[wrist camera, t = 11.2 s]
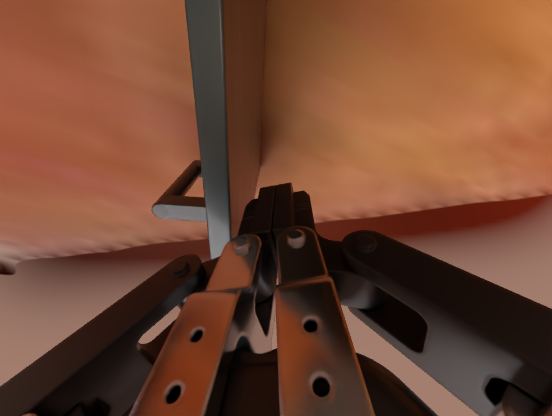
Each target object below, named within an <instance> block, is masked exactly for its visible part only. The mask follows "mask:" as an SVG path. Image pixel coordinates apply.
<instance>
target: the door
mask: <svg viewBox="0 0 552 416" xmlns="http://www.w3.org/2000/svg"><path fill="white" fill-rule="evenodd" d="M185 9H186V19H187V29H188V39H189V49H190V59H191V69H192V79H193V89H194V98H195V108H196V118H197V128H198V138H199V148H200V158H201V161H200V160H195V161H193V162H192V163H191V164H190V165H189V166H188V167H187V169H186V170H185V171H184V172H183V173H182V174H181V175H180V176H179V177H178V178H177V180H176V181H175V182H174V183H173V184H172V185H171V186H170V187H169V188H168V189H167V190H166V192H165V193H164V194H163V195H162V196H161V197H160V198H159V199H158V200H157V201H156V202H155V204H154V205H153V206H152V212H153V214H154V215H155V216H156V217H158V218H161V219H172V220H187V221H201V222H207V227H208V237H209V247H210V257H211V259H214V258H217V257H219V256H220V255H221V253H222V251H223V248H224V246H225V245H226V244H227V243H228V242H229V241H230V240H231V239H233V238H234V237H236V236H237V235H238V231H239V227H240V224H241V220H242V217H243V214H244V210H245V206H246V205H247V204H248V203H249V202H250V201H251V200H253V199H254V196H255V191H256V186H257V181H258V176H259V171H260V151H261V125H262V98H263V72H264V46H265V19H266V0H185ZM198 177H202V178H203V188H204V198H202V197H188V196H185V195H186V193H187V192H188V190H189V189H190V188H191V186H192V185H193V184H194V182H195V181H196V180H197V178H198Z"/></svg>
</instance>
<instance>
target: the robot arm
mask: <svg viewBox="0 0 552 416" xmlns="http://www.w3.org/2000/svg"><path fill="white" fill-rule="evenodd" d="M277 277H278V281H279V285H276V280H277ZM341 305H344V306H348V308H349V310H350V311H351V312H352V313H353V314H354V315H355V316H356V317H357V318H359V319H360V320H361V321H362V322H364V323H365V324H366V325H367V326H369V327H370V328H371V329H372V330H373V331H375V332H376V333H377V334H379V335H380V336H381V337H382V338H384V339H385V340H386V341H387V342H388V343H390V344H391V345H392V346H393V347H395V348H396V349H397V350H398V351H400V352H401V353H402V354H403V355H405V356H406V357H407V358H408V359H410V360H411V361H412V362H413V363H415V364H416V365H417V366H418V367H420V368H421V369H422V370H423V371H424V372H426V373H427V374H428V375H429V376H431V377H432V378H433V379H435V380H436V381H437V382H438V383H439V384H441V385H442V386H443V387H444V388H446V389H447V390H448V391H449V392H451V393H452V394H453V395H454V396H456V397H457V398H458V399H459V400H461V401H462V402H463V403H464V404H465V405H467V406H468V407H469V408H470V409H472V410H473V411H474V412H475V413H477V414H478V415H479V416H552V309H551V308H548V307H546V306H544V305H541V304H539V303H537V302H534V301H532V300H530V299H528V298H526V297H523V296H521V295H519V294H517V293H514V292H512V291H510V290H507V289H505V288H503V287H500V286H498V285H496V284H494V283H492V282H489V281H487V280H485V279H482V278H480V277H478V276H476V275H473V274H471V273H469V272H466V271H464V270H462V269H460V268H457V267H455V266H453V265H450V264H448V263H446V262H444V261H442V260H439V259H437V258H435V257H432V256H430V255H428V254H425V253H423V252H421V251H419V250H416V249H414V248H412V247H410V246H407V245H405V244H403V243H401V242H398V241H396V240H394V239H391V238H389V237H387V236H385V235H382V234H380V233H378V232H374V231H369V230H360V231H356V232H352V233H350V234H348V235H347V236H345V237H344V239H343V240H342V242H341V241H332V240H328V239H325V238H322V237H321V236H320V235H319V234H318V233H317V232H316V230H315V225H314V219H313V213H312V207H311V202H310V196H309V194H307V193H306V192H305V191H299V192H293V187H292V183H285V184H279V185H274V186H269V187H263V188H260V192H259V196H258V199H253V200H251V201H250V202H249V203H248V204H247V205H246V206H245V210H244V214H243V217H242V220H241V224H240V227H239V231H238V235H237V236H236V237H234V238H233V239H231V240H230V241H229V242H228V243H227V244H226V245H225V246H224V248H223V251H222V253H221V255H220V256H219V257H217V258H214V259H211V260H209V261H206V262H203V263H202V262H201V260H200V258H199V257H198V256H197V255H193V254H189V255H184V256H181V257H179V258H177V259H175V260H174V261H172V262H170V263H169V264H168V265H166V266H165V267H163V268H162V269H161V270H159V271H158V272H157V273H155V274H154V275H153V276H151V277H150V278H148V279H147V280H146V281H144V282H143V283H141V284H140V285H139V286H137V287H136V288H135V289H133V290H132V291H131V292H129V293H128V294H127V295H125V296H124V297H122V298H121V299H120V300H118V301H117V302H115V303H114V304H113V305H111V306H110V307H109V308H107V309H106V310H104V311H103V312H102V313H101V314H99V315H98V316H96V317H95V318H94V319H92V320H91V321H89V322H88V323H87V324H85V325H84V326H83V327H81V328H80V329H78V330H77V331H76V332H74V333H73V334H72V335H70V336H69V337H67V338H66V339H65V340H63V341H62V342H61V343H59V344H58V345H57V346H55V347H54V348H52V349H51V350H50V351H48V352H47V353H46V354H44V355H43V356H42V357H40V358H39V359H37V360H36V361H35V362H33V363H32V364H31V365H29V366H28V367H26V368H25V369H24V370H22V371H21V372H20V373H18V374H17V375H15V376H14V377H13V378H11V379H10V380H9V381H7V382H6V383H4V384H3V385H2V386H0V416H438V415H437V414H436V413H435V412H434V411H433V410H431V409H430V408H429V407H428V406H427V405H426V404H425V403H424V402H423V401H422V400H421V399H420V398H419V397H418V396H417V395H416V394H415V393H414V392H413V391H411V390H410V389H409V388H408V387H407V386H406V385H405V384H404V383H403V382H402V381H401V380H400V379H399V378H398V377H396V376H395V375H394V374H393V373H392V372H390V371H389V370H388V369H386V368H385V367H384V366H382V365H381V364H379V363H377V362H376V361H374V360H372V359H370V358H368V357H366V356H364V355H361V354H359V353H356V352H355V349H354V346H353V343H352V340H351V337H350V333H349V330H348V328H347V324H346V321H345V317H344V314H343V312H342V308H341ZM175 306H178V307H179V308H180V310H181V311H180V313H179V315H178V317H177V319H176V320H175V321H173V322H172V323H171V324H170V325H169V326H168V327H167V328H166V329H165V330H163V331H162V332H161V333H160V334H159V335H158V336H157V337H156V338H155V339H154V340H152V341H151V342H149V343H147V344H140V343H139V342H138V341H139V339H140V338H141V336H142V335H143V334H144V333H145V332H146V331H148V330H149V329H150V328H151V327H152V326H154V325H155V324H156V323H157V322H158V321H159V320H161V319H162V318H163V317H164V316H165V315H166V314H167V313H169V312H170V311H171V310H172V309H173V308H174V307H175ZM275 312H276V328H277V348H276V349H274V350H272V336H273V327H274V321H275Z"/></svg>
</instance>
